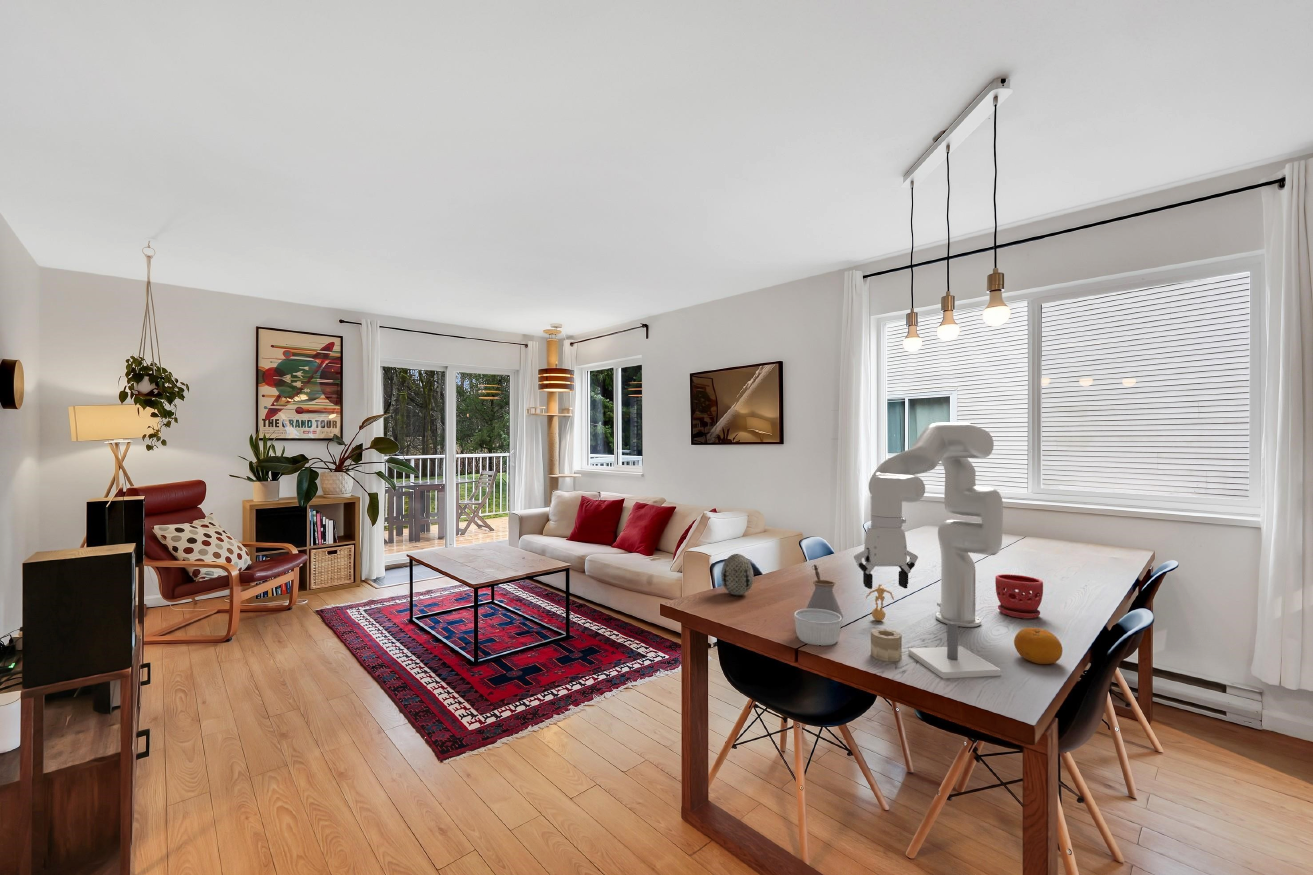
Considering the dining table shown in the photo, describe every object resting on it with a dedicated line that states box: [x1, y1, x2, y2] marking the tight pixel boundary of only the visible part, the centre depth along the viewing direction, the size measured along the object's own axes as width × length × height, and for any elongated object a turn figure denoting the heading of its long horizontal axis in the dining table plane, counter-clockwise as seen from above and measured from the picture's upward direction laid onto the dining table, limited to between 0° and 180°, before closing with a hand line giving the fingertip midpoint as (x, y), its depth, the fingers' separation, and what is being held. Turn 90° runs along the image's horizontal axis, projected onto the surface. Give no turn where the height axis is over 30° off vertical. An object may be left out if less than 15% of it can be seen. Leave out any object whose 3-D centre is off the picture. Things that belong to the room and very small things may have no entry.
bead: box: [870, 628, 903, 663], centre depth 148 cm, size 7×7×6 cm
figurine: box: [865, 583, 895, 622], centre depth 175 cm, size 8×6×12 cm
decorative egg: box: [720, 553, 755, 596], centre depth 205 cm, size 12×12×15 cm
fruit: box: [1013, 627, 1063, 665], centre depth 145 cm, size 10×10×8 cm
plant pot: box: [994, 573, 1044, 620], centre depth 183 cm, size 13×13×12 cm
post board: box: [907, 622, 1002, 679], centre depth 143 cm, size 15×15×10 cm
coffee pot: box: [805, 564, 844, 620], centre depth 178 cm, size 21×12×15 cm, turn 174°
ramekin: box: [793, 608, 843, 647], centre depth 160 cm, size 13×13×7 cm
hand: (885, 587), depth 148 cm, fingers open, 9 cm apart
